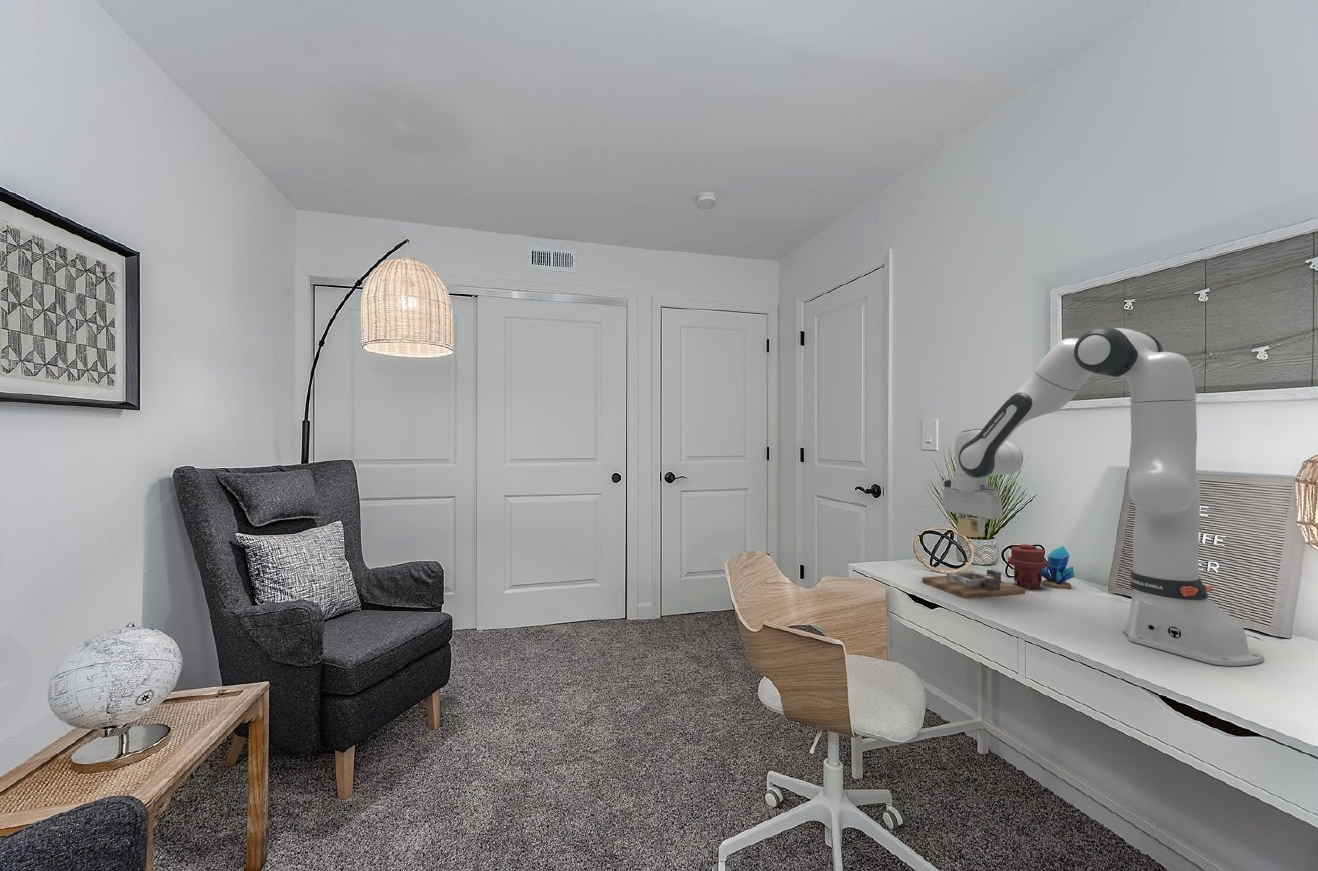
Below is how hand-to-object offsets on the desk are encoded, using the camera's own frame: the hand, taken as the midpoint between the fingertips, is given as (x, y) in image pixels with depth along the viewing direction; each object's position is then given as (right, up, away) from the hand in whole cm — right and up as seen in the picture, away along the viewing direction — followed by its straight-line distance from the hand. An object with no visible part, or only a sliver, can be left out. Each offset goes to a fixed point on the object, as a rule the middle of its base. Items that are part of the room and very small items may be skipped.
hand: (971, 530), depth 171 cm
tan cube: (0, -2, 0) cm, 2 cm away
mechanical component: (+17, -17, +1) cm, 25 cm away
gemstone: (+26, -17, +2) cm, 32 cm away
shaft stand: (0, -17, 0) cm, 17 cm away
